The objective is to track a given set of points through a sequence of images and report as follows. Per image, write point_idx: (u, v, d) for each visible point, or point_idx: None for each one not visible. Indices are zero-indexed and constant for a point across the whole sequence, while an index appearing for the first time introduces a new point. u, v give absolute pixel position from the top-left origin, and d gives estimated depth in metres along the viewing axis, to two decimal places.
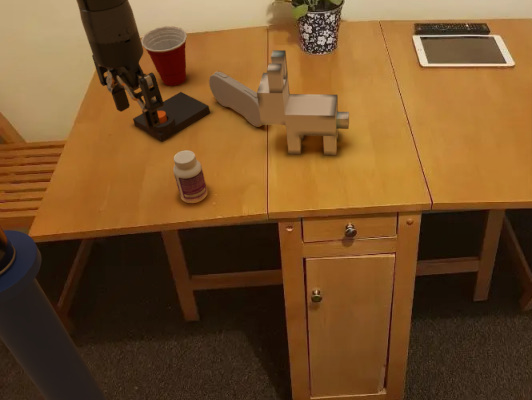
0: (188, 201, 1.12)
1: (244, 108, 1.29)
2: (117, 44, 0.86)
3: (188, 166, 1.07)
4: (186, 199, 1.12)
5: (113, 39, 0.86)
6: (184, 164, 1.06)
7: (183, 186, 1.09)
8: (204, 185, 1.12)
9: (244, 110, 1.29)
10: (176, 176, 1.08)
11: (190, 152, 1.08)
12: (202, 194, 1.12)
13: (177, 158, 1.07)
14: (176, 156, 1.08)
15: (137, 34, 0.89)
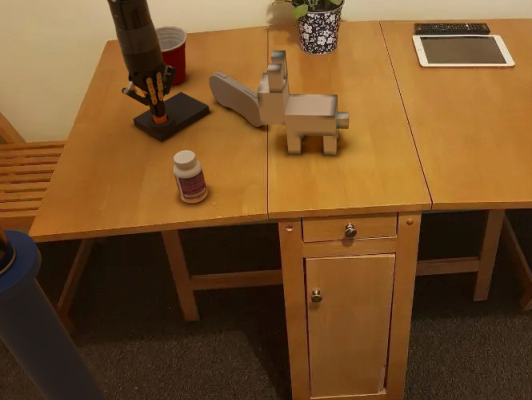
0: (188, 201, 1.12)
1: (244, 108, 1.29)
2: (121, 51, 1.15)
3: (188, 166, 1.07)
4: (186, 199, 1.12)
5: None
6: (184, 164, 1.06)
7: (183, 186, 1.09)
8: (204, 184, 1.12)
9: (244, 110, 1.29)
10: (176, 176, 1.08)
11: (190, 152, 1.08)
12: (202, 194, 1.12)
13: (177, 158, 1.07)
14: (176, 156, 1.08)
15: (136, 56, 1.13)
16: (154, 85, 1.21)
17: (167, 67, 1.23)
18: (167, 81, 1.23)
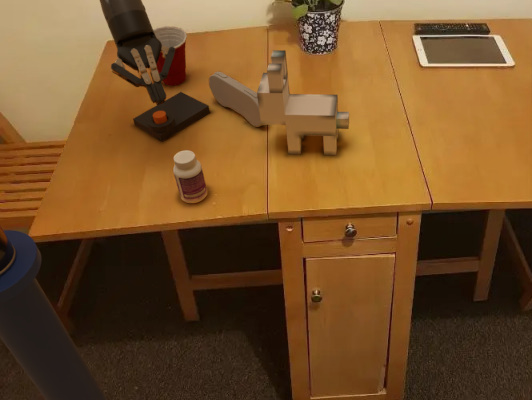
0: (188, 201, 1.12)
1: (244, 108, 1.29)
2: None
3: (188, 166, 1.07)
4: (186, 199, 1.12)
5: None
6: (184, 164, 1.06)
7: (183, 186, 1.09)
8: (204, 185, 1.12)
9: (244, 111, 1.29)
10: (176, 176, 1.08)
11: (190, 152, 1.08)
12: (202, 194, 1.12)
13: (177, 158, 1.07)
14: (176, 156, 1.08)
15: (113, 21, 1.07)
16: (146, 62, 1.09)
17: (165, 47, 1.11)
18: None
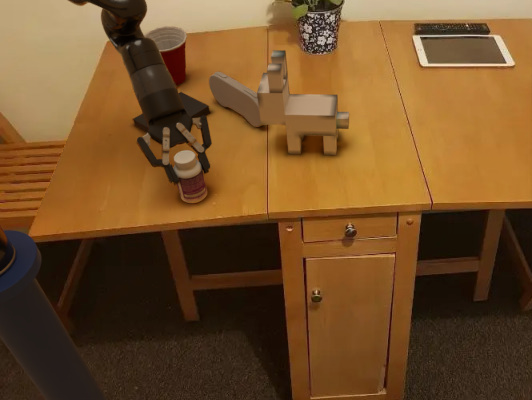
0: (188, 201, 1.12)
1: (244, 108, 1.29)
2: None
3: (188, 166, 1.07)
4: (186, 199, 1.12)
5: None
6: (184, 164, 1.06)
7: (183, 186, 1.09)
8: (204, 185, 1.12)
9: (244, 111, 1.29)
10: None
11: (190, 152, 1.08)
12: (202, 194, 1.12)
13: (178, 158, 1.07)
14: (176, 156, 1.08)
15: (145, 100, 1.05)
16: (177, 139, 1.08)
17: (196, 118, 1.10)
18: (202, 132, 1.10)
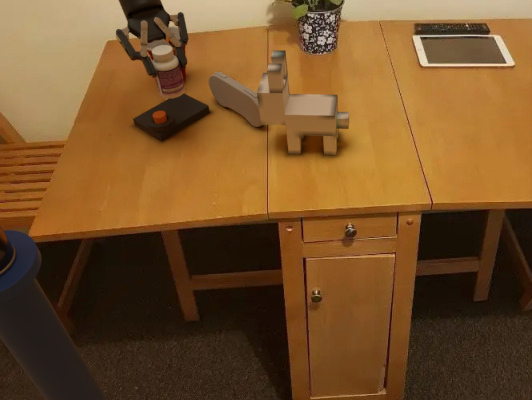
0: (166, 96, 1.16)
1: (244, 108, 1.29)
2: None
3: (165, 58, 1.11)
4: (164, 94, 1.16)
5: None
6: (162, 56, 1.11)
7: (161, 80, 1.14)
8: (182, 80, 1.16)
9: (244, 111, 1.29)
10: None
11: (168, 46, 1.13)
12: (180, 89, 1.17)
13: (155, 51, 1.12)
14: (154, 49, 1.12)
15: None
16: (155, 34, 1.12)
17: (173, 15, 1.15)
18: (180, 28, 1.14)
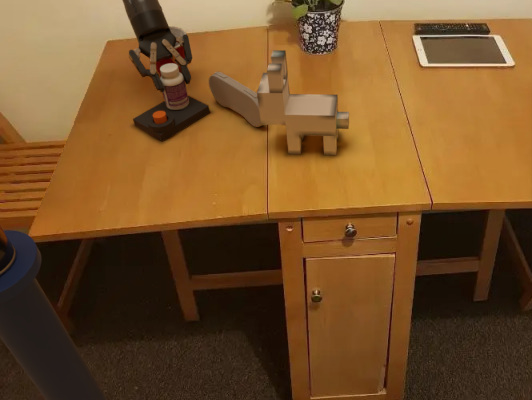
0: (172, 108, 1.32)
1: (244, 108, 1.29)
2: None
3: (172, 75, 1.27)
4: (171, 106, 1.32)
5: None
6: (169, 73, 1.27)
7: (168, 94, 1.30)
8: (186, 94, 1.32)
9: (244, 111, 1.29)
10: (162, 84, 1.29)
11: (174, 64, 1.29)
12: (184, 102, 1.32)
13: (163, 68, 1.28)
14: (162, 67, 1.28)
15: (135, 19, 1.26)
16: (163, 54, 1.28)
17: (179, 37, 1.30)
18: (184, 48, 1.30)
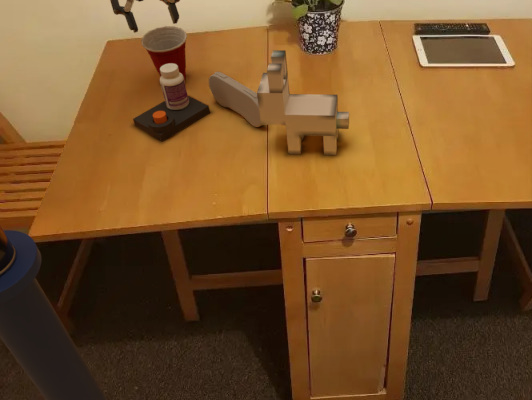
0: (172, 108, 1.32)
1: (244, 108, 1.29)
2: None
3: (172, 75, 1.27)
4: (171, 106, 1.32)
5: None
6: (168, 73, 1.27)
7: (168, 94, 1.30)
8: (186, 94, 1.32)
9: (244, 111, 1.29)
10: (162, 84, 1.29)
11: (174, 64, 1.29)
12: (184, 102, 1.32)
13: (163, 68, 1.28)
14: (162, 67, 1.28)
15: None
16: None
17: None
18: None
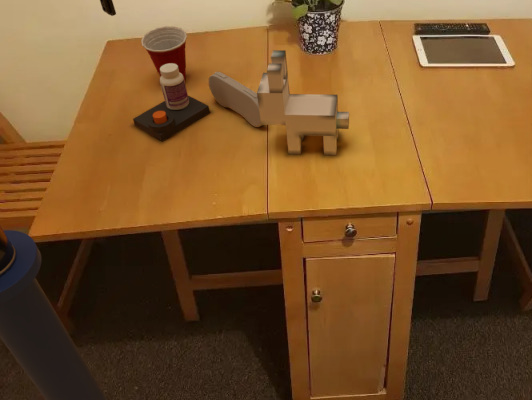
0: (172, 108, 1.32)
1: (244, 108, 1.29)
2: None
3: (172, 75, 1.27)
4: (171, 106, 1.32)
5: None
6: (168, 73, 1.27)
7: (168, 94, 1.30)
8: (186, 94, 1.32)
9: (244, 111, 1.29)
10: (162, 84, 1.29)
11: (174, 64, 1.29)
12: (184, 102, 1.32)
13: (163, 68, 1.28)
14: (162, 67, 1.28)
15: None
16: None
17: None
18: None
